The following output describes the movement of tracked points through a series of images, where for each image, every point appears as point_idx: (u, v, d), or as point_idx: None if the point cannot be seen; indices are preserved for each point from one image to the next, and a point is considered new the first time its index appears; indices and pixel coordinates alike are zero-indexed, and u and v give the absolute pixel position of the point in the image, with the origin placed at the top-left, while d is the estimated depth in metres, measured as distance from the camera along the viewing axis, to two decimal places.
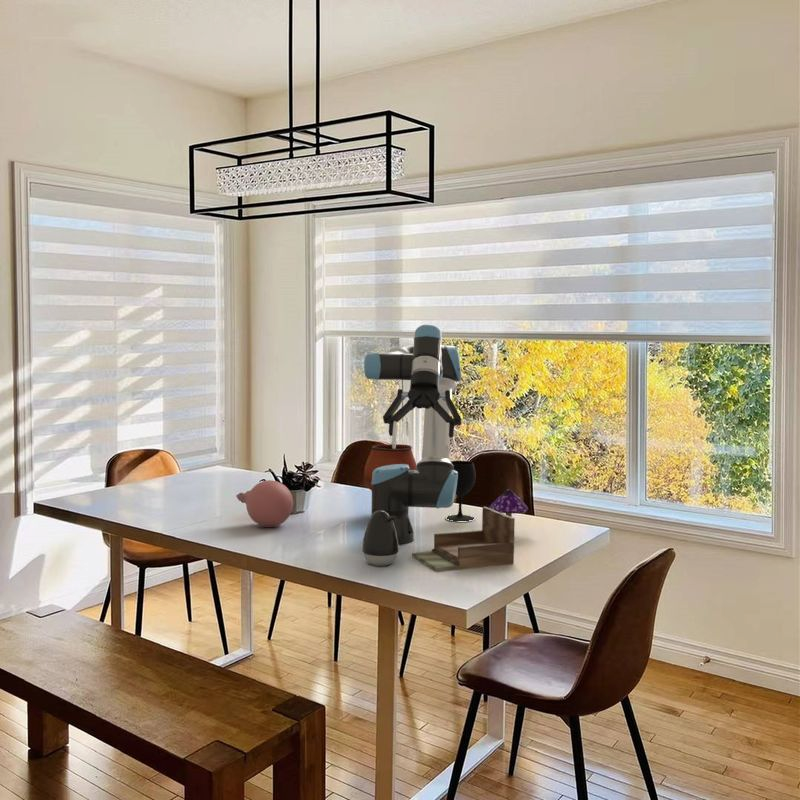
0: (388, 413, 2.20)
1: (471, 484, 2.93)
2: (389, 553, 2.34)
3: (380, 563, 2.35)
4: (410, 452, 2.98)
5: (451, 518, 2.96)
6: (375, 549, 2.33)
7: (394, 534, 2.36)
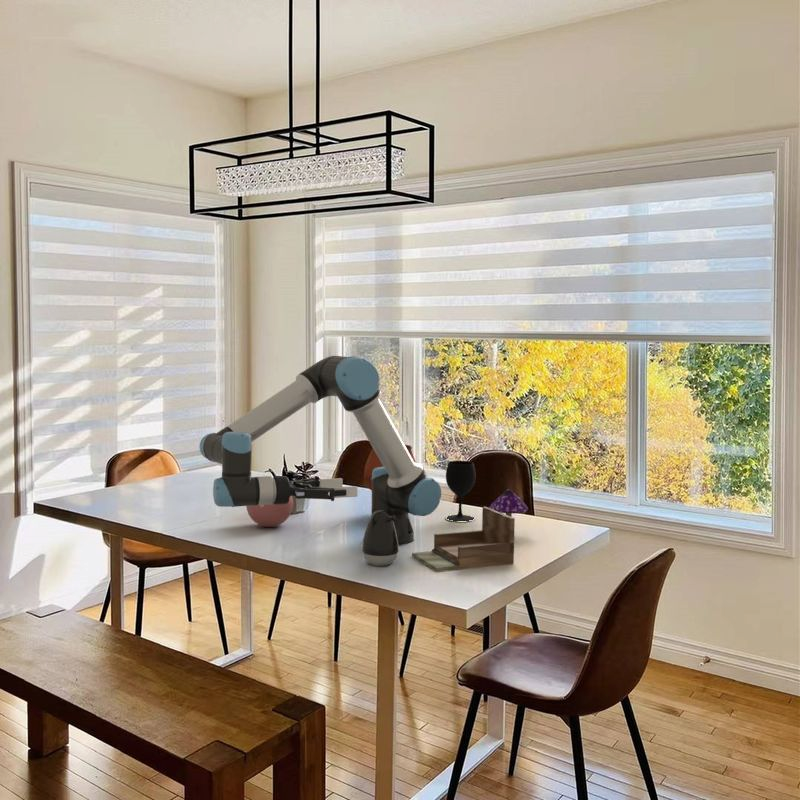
0: None
1: (471, 484, 2.93)
2: (389, 553, 2.34)
3: (380, 563, 2.35)
4: (410, 452, 2.98)
5: (451, 518, 2.96)
6: (375, 549, 2.33)
7: (394, 534, 2.36)
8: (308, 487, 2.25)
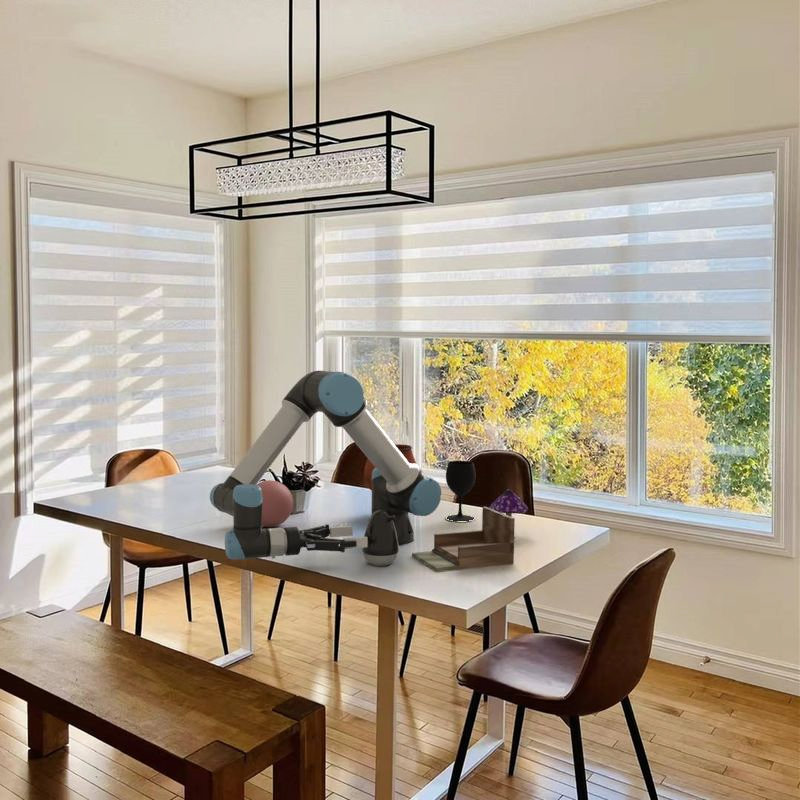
0: None
1: (471, 484, 2.93)
2: (389, 553, 2.34)
3: (380, 563, 2.35)
4: (410, 452, 2.98)
5: (451, 518, 2.96)
6: (375, 549, 2.33)
7: (394, 534, 2.36)
8: (319, 538, 2.27)
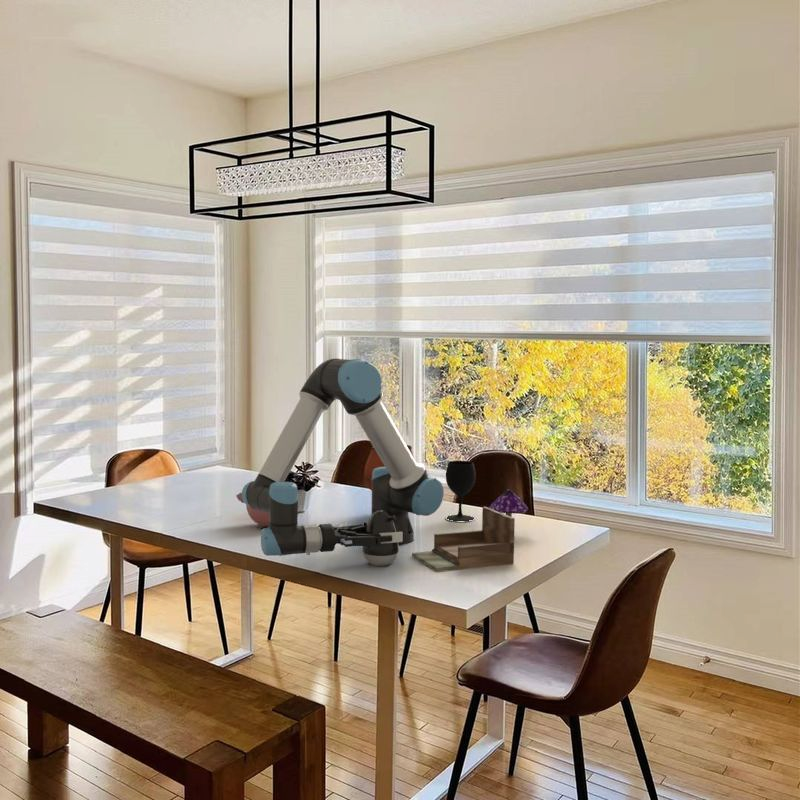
0: None
1: (471, 484, 2.93)
2: (389, 553, 2.34)
3: (380, 563, 2.34)
4: None
5: (451, 518, 2.96)
6: (375, 549, 2.33)
7: None
8: (354, 534, 2.31)
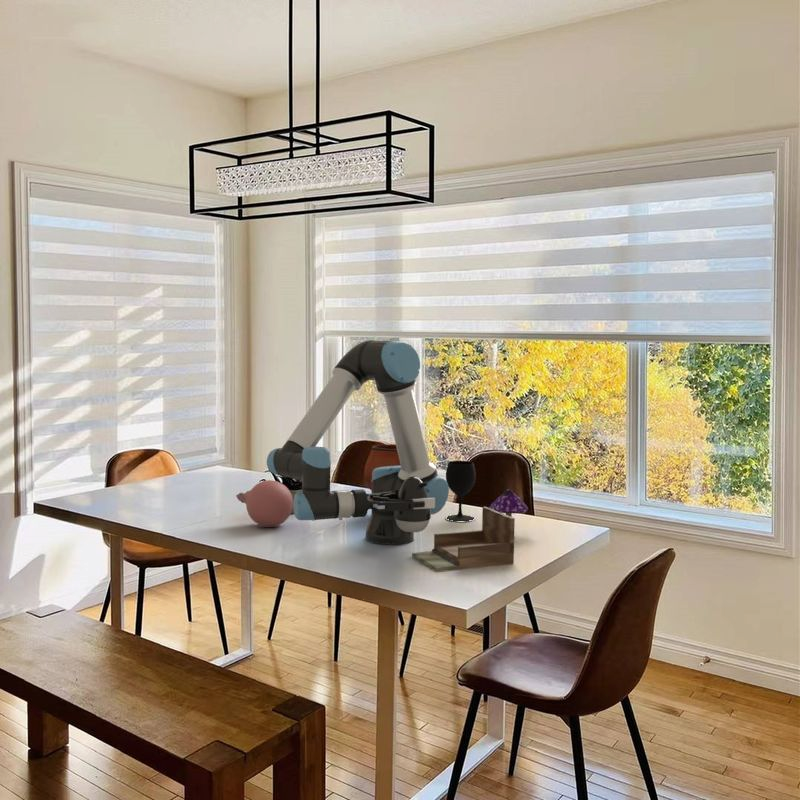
0: None
1: (471, 484, 2.93)
2: (422, 519, 2.33)
3: (412, 529, 2.34)
4: None
5: (451, 518, 2.96)
6: (407, 515, 2.32)
7: None
8: (386, 500, 2.31)
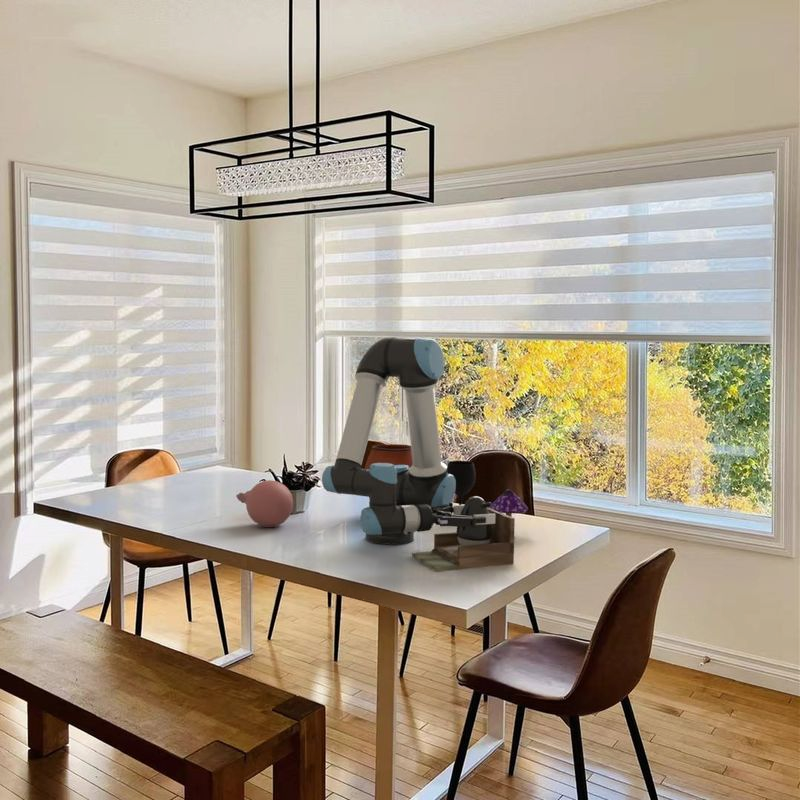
0: None
1: (471, 484, 2.93)
2: (484, 538, 2.40)
3: None
4: (410, 452, 2.98)
5: None
6: (470, 534, 2.39)
7: None
8: (449, 515, 2.37)
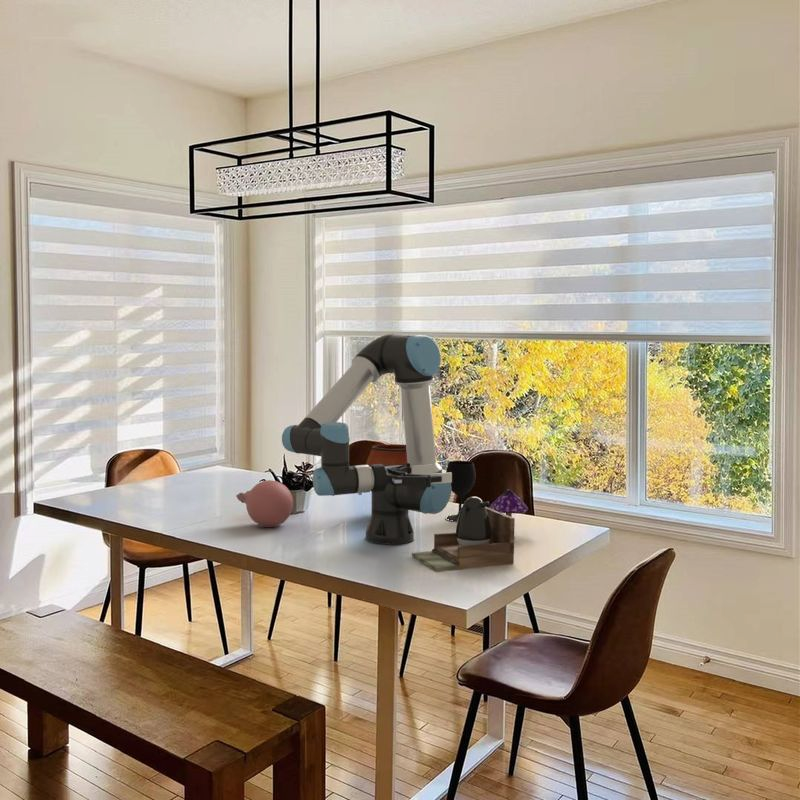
0: None
1: (471, 484, 2.93)
2: (484, 538, 2.40)
3: None
4: None
5: (451, 518, 2.96)
6: (469, 534, 2.39)
7: (487, 519, 2.42)
8: (404, 474, 2.31)
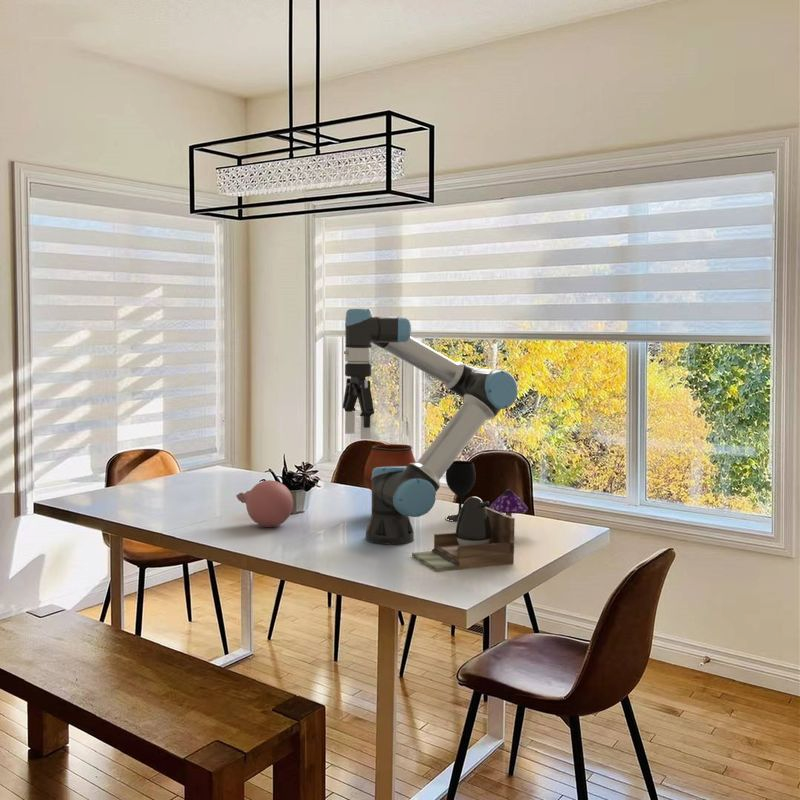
0: (344, 403, 2.53)
1: (471, 484, 2.93)
2: (484, 538, 2.40)
3: None
4: (410, 452, 2.98)
5: (451, 518, 2.96)
6: (469, 534, 2.39)
7: (487, 519, 2.42)
8: None
